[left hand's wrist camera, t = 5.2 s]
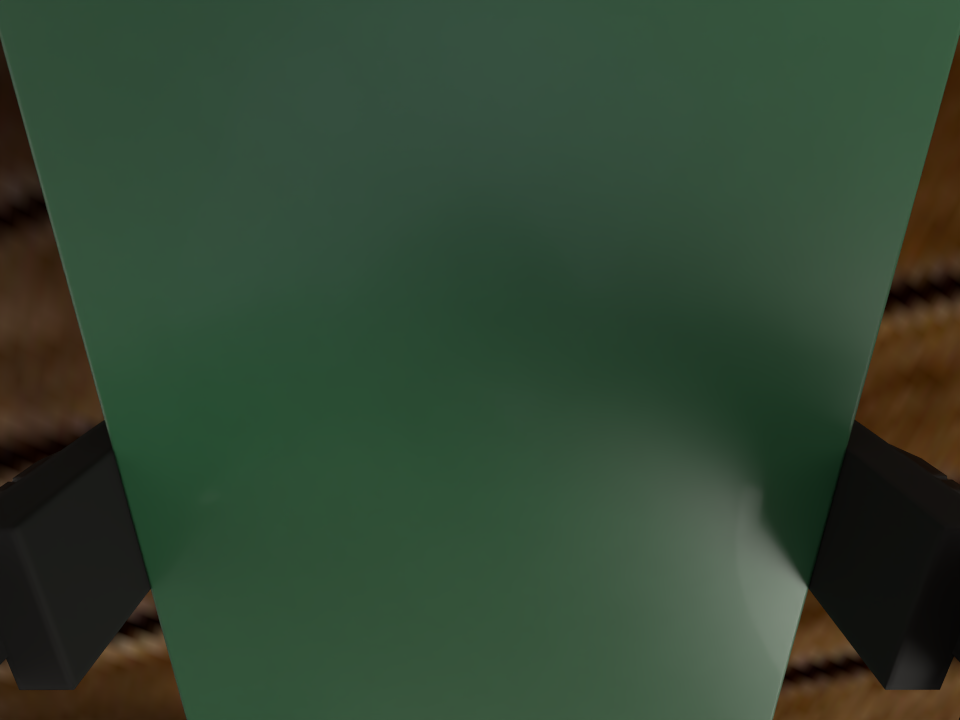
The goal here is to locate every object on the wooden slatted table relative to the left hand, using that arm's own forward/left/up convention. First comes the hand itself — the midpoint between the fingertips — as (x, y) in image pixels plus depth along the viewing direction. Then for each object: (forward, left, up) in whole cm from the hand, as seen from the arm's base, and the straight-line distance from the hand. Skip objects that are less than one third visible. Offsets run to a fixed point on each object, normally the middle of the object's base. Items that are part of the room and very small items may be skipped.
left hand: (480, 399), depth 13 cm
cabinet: (+1, +5, -6) cm, 8 cm away
